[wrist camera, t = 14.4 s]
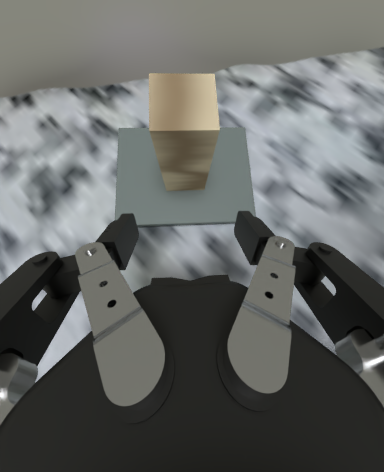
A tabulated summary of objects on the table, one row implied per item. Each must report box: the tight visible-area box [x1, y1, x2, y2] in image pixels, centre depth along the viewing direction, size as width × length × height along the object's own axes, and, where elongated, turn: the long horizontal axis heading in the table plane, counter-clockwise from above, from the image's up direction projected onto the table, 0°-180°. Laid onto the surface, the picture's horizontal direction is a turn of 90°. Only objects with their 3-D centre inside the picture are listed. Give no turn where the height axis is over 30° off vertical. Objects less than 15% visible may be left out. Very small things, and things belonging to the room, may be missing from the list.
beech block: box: [149, 73, 220, 191], centre depth 15 cm, size 5×5×9 cm
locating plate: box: [115, 128, 256, 227], centre depth 18 cm, size 18×14×5 cm
